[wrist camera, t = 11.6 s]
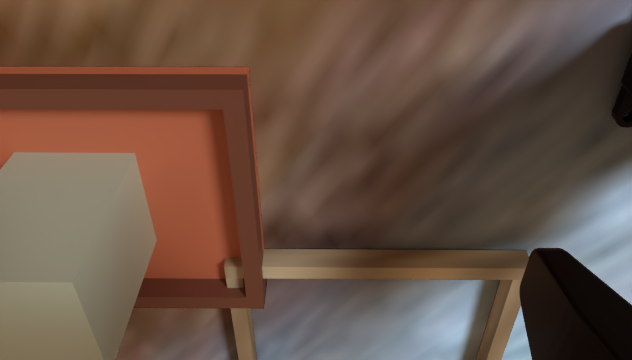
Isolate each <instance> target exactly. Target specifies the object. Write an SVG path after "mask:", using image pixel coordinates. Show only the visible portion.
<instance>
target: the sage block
mask: <svg viewBox="0 0 632 360" xmlns="http://www.w3.org/2000/svg"><path fill="white" fill-rule="evenodd" d="M156 241H157V239H156V235H155V231H154V227H153V224H152V220H151V216H150V212H149V208H148V204H147V200H146V196H145V192H144V188H143V184H142V180H141V176H140V172H139V168H138V164H137V160H136V156H135V153H47V152H14V153H13V154H12V156H11V157H10V158H9V159H8V161H7V162H6V163H5V164H4V166H3V167H2V168H1V169H0V360H115V359H116V356H117V353H118V350H119V347H120V344H121V342H122V339H123V336H124V333H125V330H126V327H127V324H128V322H129V319H130V316H131V313H132V310H133V307H134V304H135V301H136V299H137V296H138V293H139V290H140V287H141V284H142V281H143V279H144V276H145V273H146V270H147V267H148V264H149V261H150V258H151V256H152V253H153V250H154V247H155V244H156Z"/></svg>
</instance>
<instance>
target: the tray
mask: <svg viewBox="0 0 632 360" xmlns="http://www.w3.org/2000/svg"><path fill="white" fill-rule="evenodd" d="M14 152H47V153H135V156H136V160H137V164H138V168H139V172H140V176H141V180H142V184H143V188H144V192H145V196H146V200H147V204H148V208H149V212H150V216H151V220H152V224H153V227H154V231H155V235H156V239H157V241H156V244H155V247H154V250H153V253H152V256H151V258H150V261H149V264H148V267H147V270H146V273H145V276H144V279H143V281H142V284H141V287H140V290H139V293H138V296H137V299H136V301H135V304H134V307H133V308H255V309H264V304H265V295H266V286H267V279H263V271H262V264H263V256H264V240H263V228H262V217H261V205H260V193H259V182H258V170H257V159H256V147H255V135H254V124H253V112H252V101H251V89H250V78H249V67H0V169H1V168H2V167H3V166H4V164H5V163H6V162H7V161H8V159H9V158H10V157H11V156H12V154H13V153H14ZM226 258H241V259H242V267H243V275H244V288H227V282H226V276H225V269H224V265H225V260H226Z"/></svg>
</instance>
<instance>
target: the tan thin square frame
mask: <svg viewBox="0 0 632 360" xmlns="http://www.w3.org/2000/svg"><path fill="white" fill-rule="evenodd" d="M528 260H529V256H528V254H527V251H526V250H369V249H264V256H263V264H262V271H263V279H432V280H500V283H499V286H498V290H497V293H496V296H495V299H494V303H493V306H492V309H491V312H490V316H489V319H488V322H487V325H486V329H485V332H484V335H483V338H482V342H481V345H480V348H479V351H478V355H477V358H476V360H501V359H502V356H503V353H504V350H505V348H506V345H507V342H508V339H509V336H510V334H511V331H512V328H513V325H514V322H515V320H516V317H517V314H518V311H519V308H520V306H521V302H520V295H519V289H520V283H521V280H522V277H523V274H524V272H525V269H526V266H527V263H528ZM224 269H225V276H226V282H227V288H244V275H243V267H242V259H241V258H226V260H225V265H224ZM231 314H232V321H233V327H234V334H235V340H236V347H237V353H238V360H257V355H256V346H255V338H254V329H253V321H252V312H251V308H231Z"/></svg>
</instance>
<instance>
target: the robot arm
mask: <svg viewBox="0 0 632 360" xmlns="http://www.w3.org/2000/svg"><path fill="white" fill-rule="evenodd" d="M621 83H622V87H621V90H620V93H619V95H618V98H617V100H616V103H615V106H614V108H613V111H612V117H613V119H614V120H615V122H616V123H617V124H618V125H620V126H621V127H632V54H631V57H630V59H629V62H628V65H627V67H626V70H625V73H624V75H623V78H622V81H621ZM628 111H631V113H630V114H629V115H627V116H624V114H625V113H626V112H628ZM623 116H624V117H623ZM519 295H520V302H521V307H522V312H523V317H524V322H525V327H526V332H527V337H528V342H529V346H530V351H531V356H532V360H632V305H631V304H630V303H628V302H627V301H626V300H625V299H624V298H622V297H621V296H620V295H619V294H618V293H616V292H615V291H614V290H613V289H612V288H610V287H609V286H608V285H607V284H605V283H604V282H603V281H602V280H601V279H599V278H598V277H597V276H596V275H595V274H593V273H592V272H591V271H590V270H589V269H587V268H586V267H585V266H584V265H582V264H581V263H580V262H579V261H578V260H576V259H575V258H574V257H573V256H572V255H570V254H569V253H568V252H567V251H565V250H563V249H560V248H536V249H534V250H533V251H532V253H531V255H530V257H529V260H528V263H527V266H526V269H525V272H524V274H523V277H522V280H521V283H520V289H519Z"/></svg>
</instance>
